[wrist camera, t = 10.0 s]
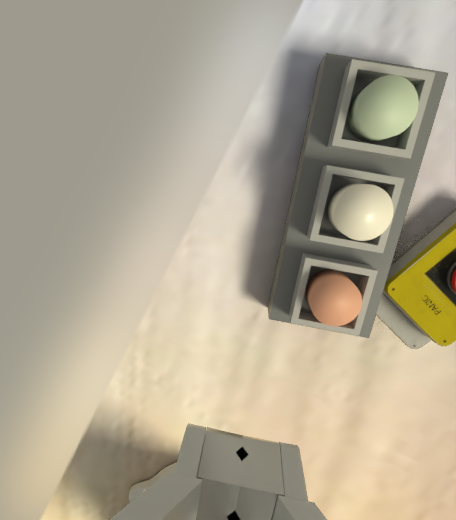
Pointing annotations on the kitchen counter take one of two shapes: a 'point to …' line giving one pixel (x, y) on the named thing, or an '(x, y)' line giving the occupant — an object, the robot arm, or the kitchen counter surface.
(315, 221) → the panel
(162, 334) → the kitchen counter surface
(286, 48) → the kitchen counter surface
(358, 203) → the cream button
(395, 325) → the emergency button
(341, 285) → the brown egg
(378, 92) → the pale green egg
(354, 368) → the kitchen counter surface
